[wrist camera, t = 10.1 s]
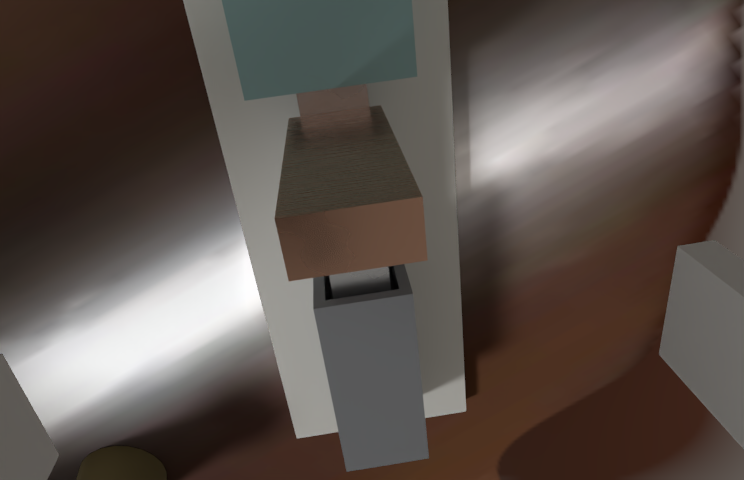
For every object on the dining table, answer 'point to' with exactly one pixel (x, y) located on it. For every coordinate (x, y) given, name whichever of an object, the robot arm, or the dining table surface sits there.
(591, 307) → the dining table surface
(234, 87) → the base board
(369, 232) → the inner bar
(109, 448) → the cork
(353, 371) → the outer sleeve
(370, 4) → the socket block
